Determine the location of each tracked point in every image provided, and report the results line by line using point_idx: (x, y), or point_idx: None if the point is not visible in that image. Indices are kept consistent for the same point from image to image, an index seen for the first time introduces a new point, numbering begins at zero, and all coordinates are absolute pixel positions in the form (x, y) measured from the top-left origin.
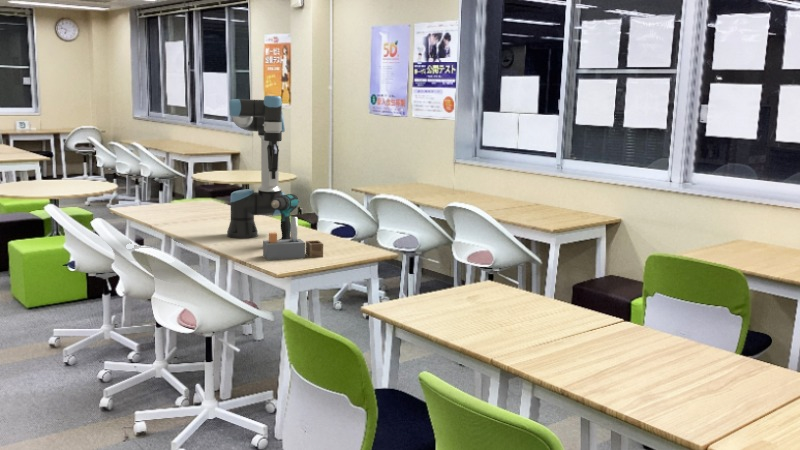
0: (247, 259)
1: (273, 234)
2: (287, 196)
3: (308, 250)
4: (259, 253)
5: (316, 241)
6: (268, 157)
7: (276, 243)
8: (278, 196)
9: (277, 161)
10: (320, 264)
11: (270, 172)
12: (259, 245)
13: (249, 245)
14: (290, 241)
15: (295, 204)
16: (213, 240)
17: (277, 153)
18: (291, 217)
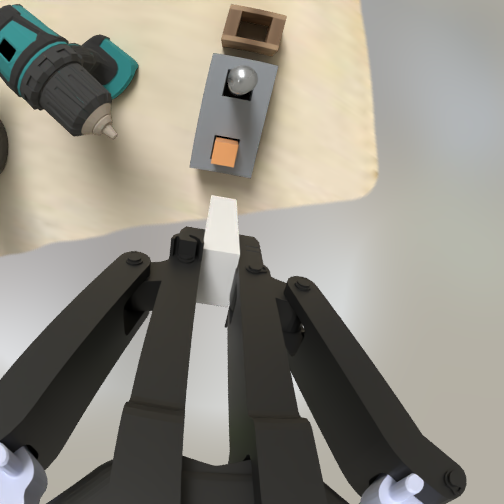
0: None
1: (235, 156)
2: (35, 48)
3: (254, 49)
4: (163, 156)
5: (241, 14)
6: (90, 398)
7: (247, 147)
8: (34, 92)
9: (364, 358)
10: (351, 76)
11: (228, 299)
12: None
13: (70, 153)
14: (223, 89)
15: (35, 17)
16: (15, 217)
17: (424, 451)
18: (246, 92)
